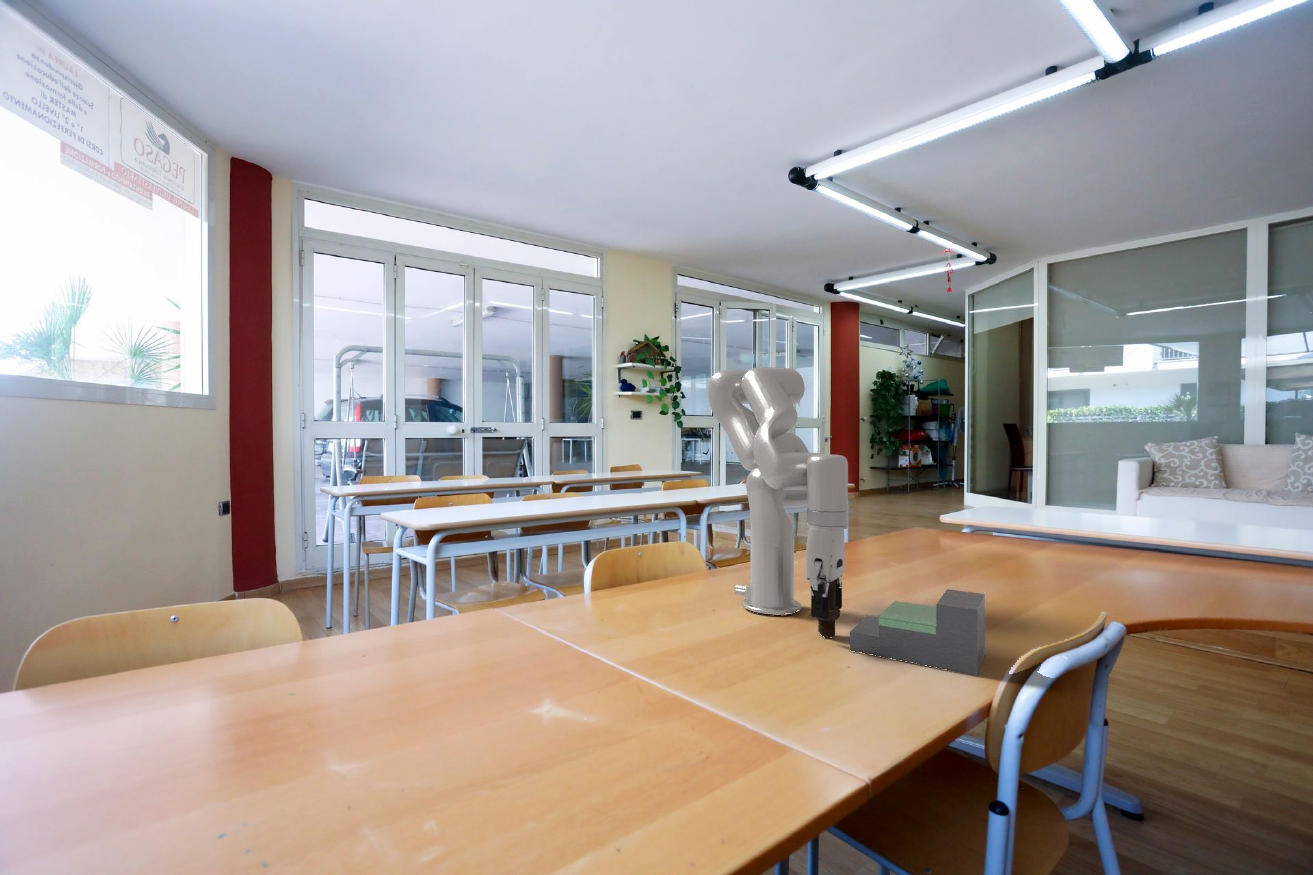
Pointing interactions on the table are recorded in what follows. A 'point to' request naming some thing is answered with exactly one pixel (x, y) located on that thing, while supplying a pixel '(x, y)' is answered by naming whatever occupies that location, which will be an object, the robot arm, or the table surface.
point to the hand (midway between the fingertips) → (826, 611)
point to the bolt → (830, 609)
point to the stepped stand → (928, 633)
